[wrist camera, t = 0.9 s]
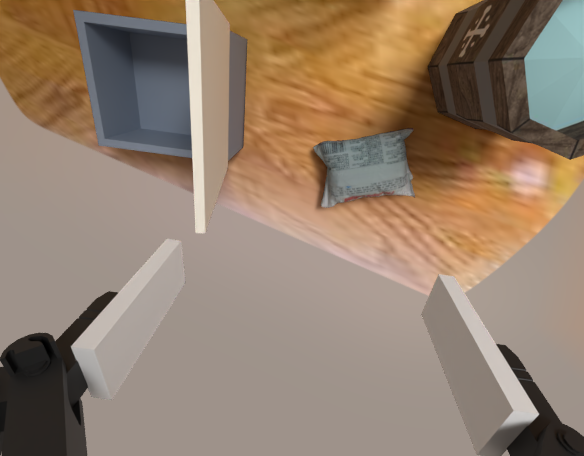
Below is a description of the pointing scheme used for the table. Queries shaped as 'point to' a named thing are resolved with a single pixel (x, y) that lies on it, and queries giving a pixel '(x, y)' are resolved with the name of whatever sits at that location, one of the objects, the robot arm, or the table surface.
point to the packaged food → (366, 167)
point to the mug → (516, 71)
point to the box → (149, 83)
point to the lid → (208, 103)
